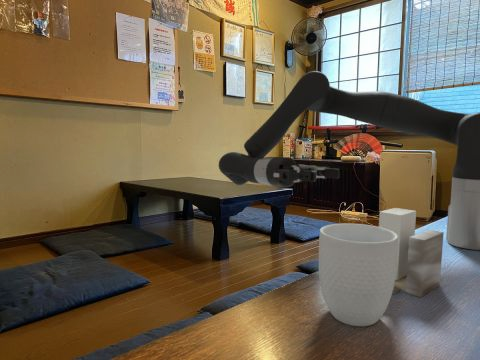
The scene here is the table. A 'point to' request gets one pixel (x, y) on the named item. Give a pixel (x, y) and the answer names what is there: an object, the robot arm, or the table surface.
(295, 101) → the robot arm
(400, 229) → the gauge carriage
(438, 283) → the gauge base
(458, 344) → the table surface
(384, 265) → the mug
